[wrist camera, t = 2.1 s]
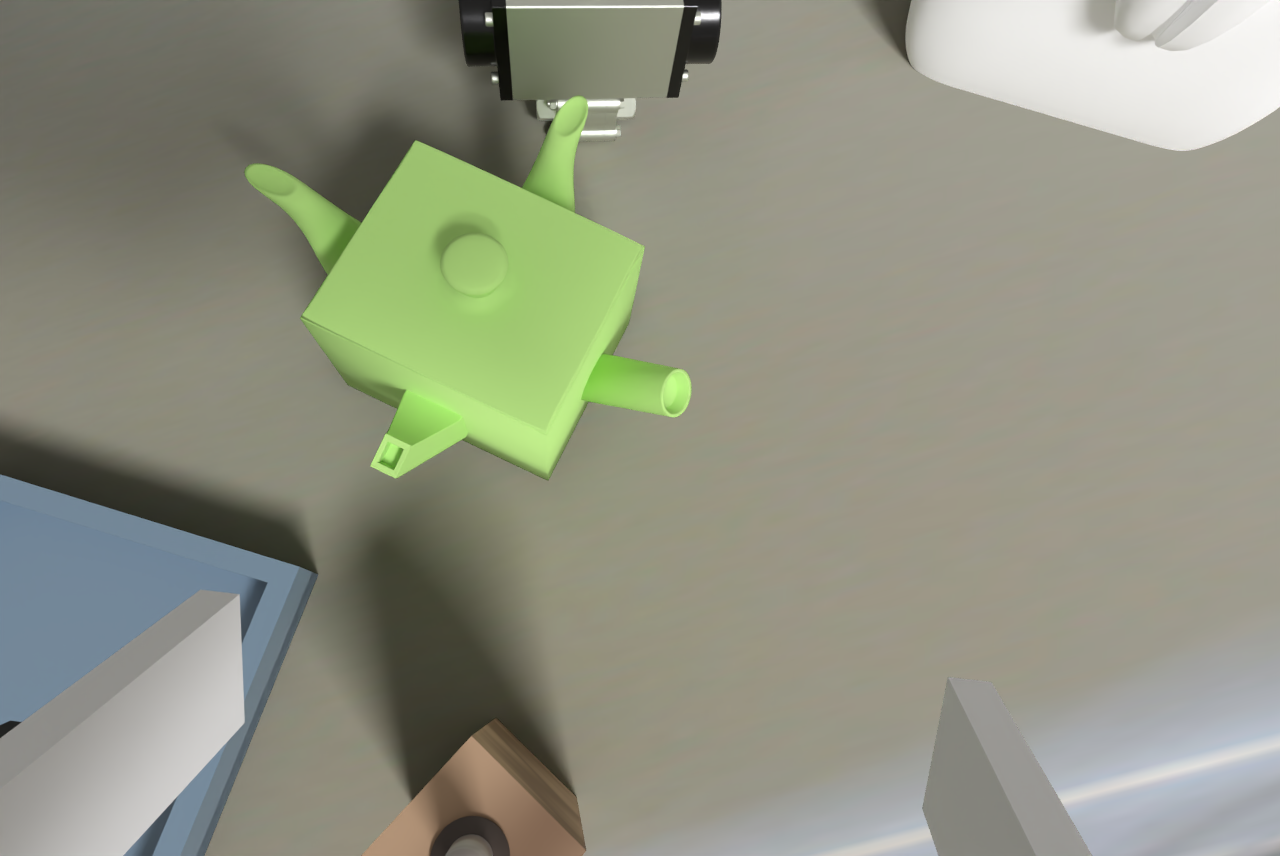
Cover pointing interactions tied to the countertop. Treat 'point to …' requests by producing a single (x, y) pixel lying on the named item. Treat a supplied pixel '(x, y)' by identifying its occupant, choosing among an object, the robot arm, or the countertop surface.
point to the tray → (131, 621)
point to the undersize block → (487, 806)
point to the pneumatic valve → (590, 52)
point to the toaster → (1110, 61)
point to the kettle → (477, 304)
